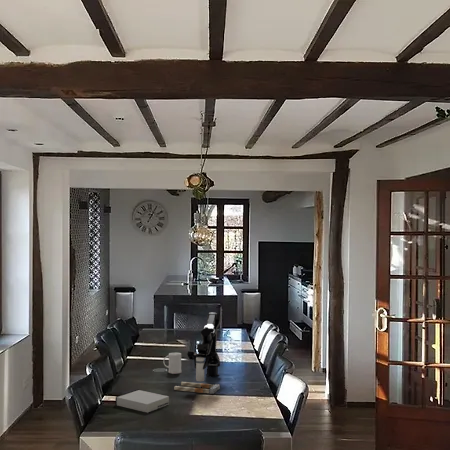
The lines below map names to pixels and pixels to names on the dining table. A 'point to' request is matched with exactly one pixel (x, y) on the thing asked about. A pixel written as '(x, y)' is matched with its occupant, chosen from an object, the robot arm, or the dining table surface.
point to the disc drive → (142, 400)
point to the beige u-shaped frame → (201, 390)
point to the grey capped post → (199, 369)
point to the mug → (174, 363)
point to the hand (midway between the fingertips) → (199, 368)
